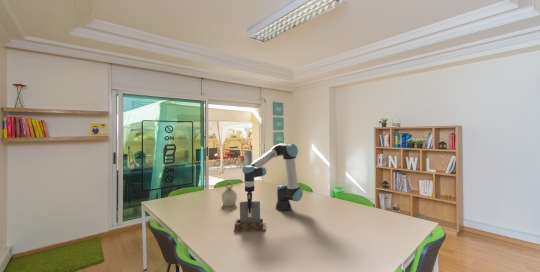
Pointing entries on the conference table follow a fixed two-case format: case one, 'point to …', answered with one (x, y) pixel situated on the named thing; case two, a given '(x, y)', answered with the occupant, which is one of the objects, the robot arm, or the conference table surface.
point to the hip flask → (255, 212)
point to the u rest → (249, 226)
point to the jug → (229, 196)
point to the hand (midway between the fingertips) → (250, 215)
